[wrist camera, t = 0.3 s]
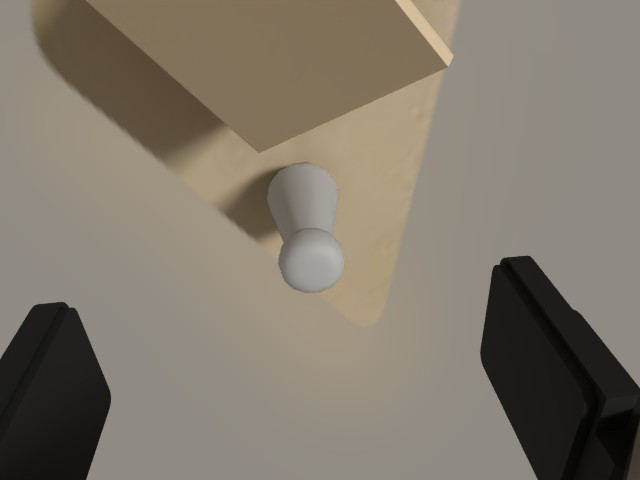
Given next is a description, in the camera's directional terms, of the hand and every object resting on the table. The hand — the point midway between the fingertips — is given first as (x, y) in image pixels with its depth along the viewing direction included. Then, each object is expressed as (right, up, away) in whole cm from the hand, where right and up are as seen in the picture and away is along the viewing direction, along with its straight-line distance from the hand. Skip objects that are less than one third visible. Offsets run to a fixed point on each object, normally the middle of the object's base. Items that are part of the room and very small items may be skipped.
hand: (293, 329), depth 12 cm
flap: (-3, +12, +11) cm, 17 cm away
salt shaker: (-1, +7, +32) cm, 32 cm away
